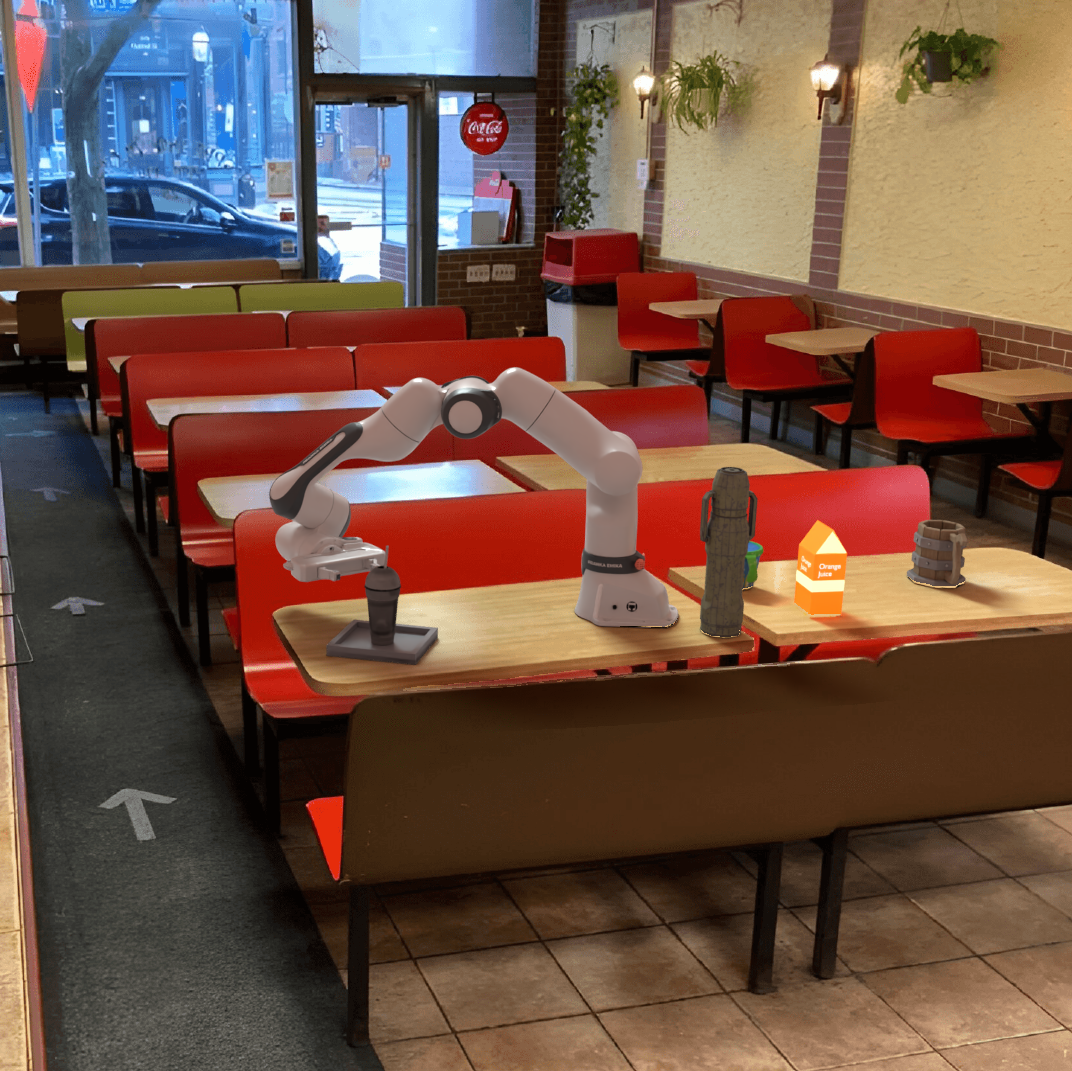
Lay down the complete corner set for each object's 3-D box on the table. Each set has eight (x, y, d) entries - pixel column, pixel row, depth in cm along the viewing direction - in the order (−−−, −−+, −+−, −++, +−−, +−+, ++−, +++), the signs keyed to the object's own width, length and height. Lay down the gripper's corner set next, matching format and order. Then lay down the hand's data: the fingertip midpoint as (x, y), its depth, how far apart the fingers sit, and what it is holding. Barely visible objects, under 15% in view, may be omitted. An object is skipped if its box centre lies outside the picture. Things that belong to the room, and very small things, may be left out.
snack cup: (769, 596, 305) (773, 554, 303) (725, 597, 303) (729, 555, 301) (747, 576, 320) (750, 535, 317) (705, 577, 318) (708, 536, 315)
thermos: (756, 635, 279) (768, 472, 270) (707, 641, 275) (718, 475, 265) (733, 621, 287) (745, 463, 278) (685, 627, 282) (696, 466, 273)
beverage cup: (382, 633, 270) (382, 538, 265) (408, 641, 266) (409, 544, 261) (356, 641, 264) (356, 544, 260) (382, 650, 260) (383, 551, 255)
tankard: (901, 572, 327) (907, 513, 323) (951, 573, 328) (958, 514, 324) (929, 598, 308) (936, 535, 304) (982, 598, 309) (990, 536, 305)
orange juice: (808, 618, 291) (816, 530, 286) (793, 605, 299) (800, 519, 294) (842, 617, 293) (850, 529, 287) (825, 604, 301) (833, 518, 296)
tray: (437, 637, 271) (437, 627, 271) (415, 665, 256) (415, 654, 256) (353, 629, 275) (353, 619, 274) (326, 655, 259) (326, 645, 259)
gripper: (279, 549, 272) (312, 565, 262) (365, 535, 285) (400, 551, 274) (279, 578, 274) (312, 596, 264) (365, 564, 286) (399, 580, 276)
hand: (357, 573), depth 269 cm, fingers open, 8 cm apart
